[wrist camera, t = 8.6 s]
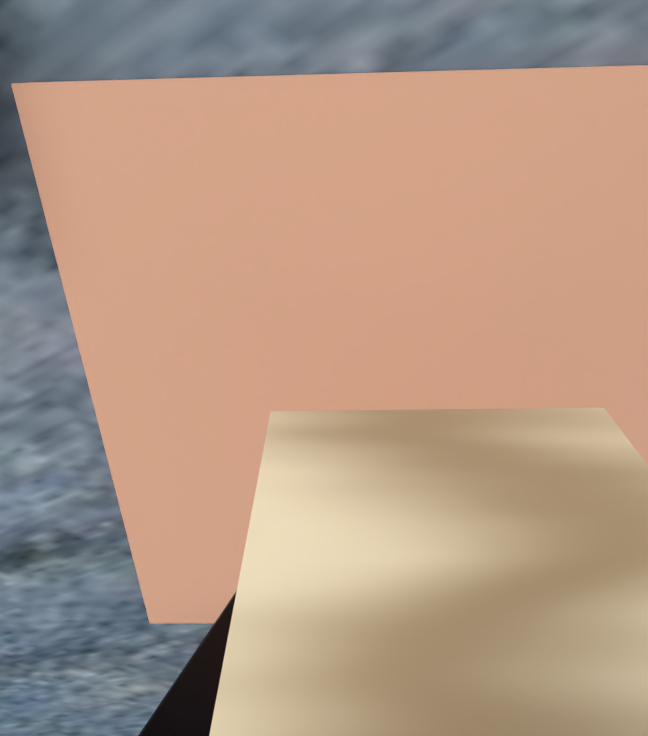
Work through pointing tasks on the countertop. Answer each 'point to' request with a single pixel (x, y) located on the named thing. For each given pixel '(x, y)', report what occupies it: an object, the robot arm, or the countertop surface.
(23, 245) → the countertop surface
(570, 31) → the countertop surface
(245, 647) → the maple block
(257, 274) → the mat
